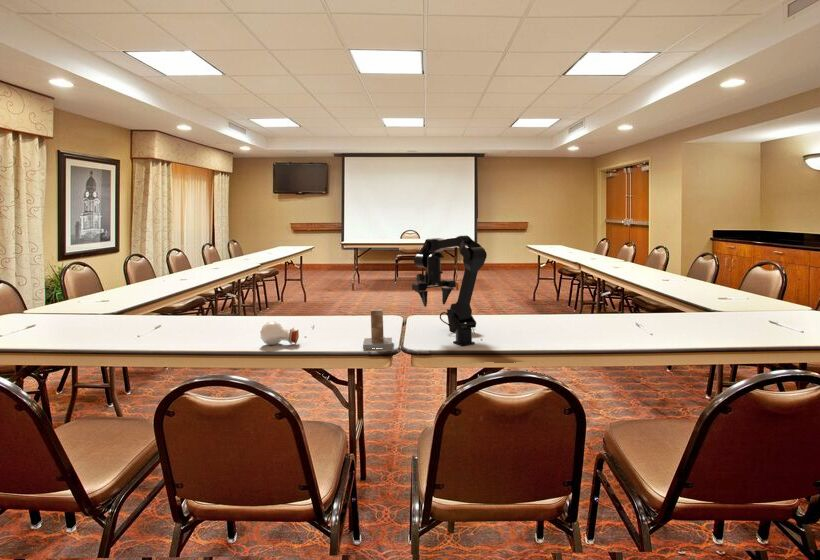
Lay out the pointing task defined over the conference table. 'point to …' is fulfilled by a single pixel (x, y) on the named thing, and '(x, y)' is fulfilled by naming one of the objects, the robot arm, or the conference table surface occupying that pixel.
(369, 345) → the slate slab
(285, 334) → the potion bottle
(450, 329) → the coffee mug
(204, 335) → the conference table surface
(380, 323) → the walnut block
